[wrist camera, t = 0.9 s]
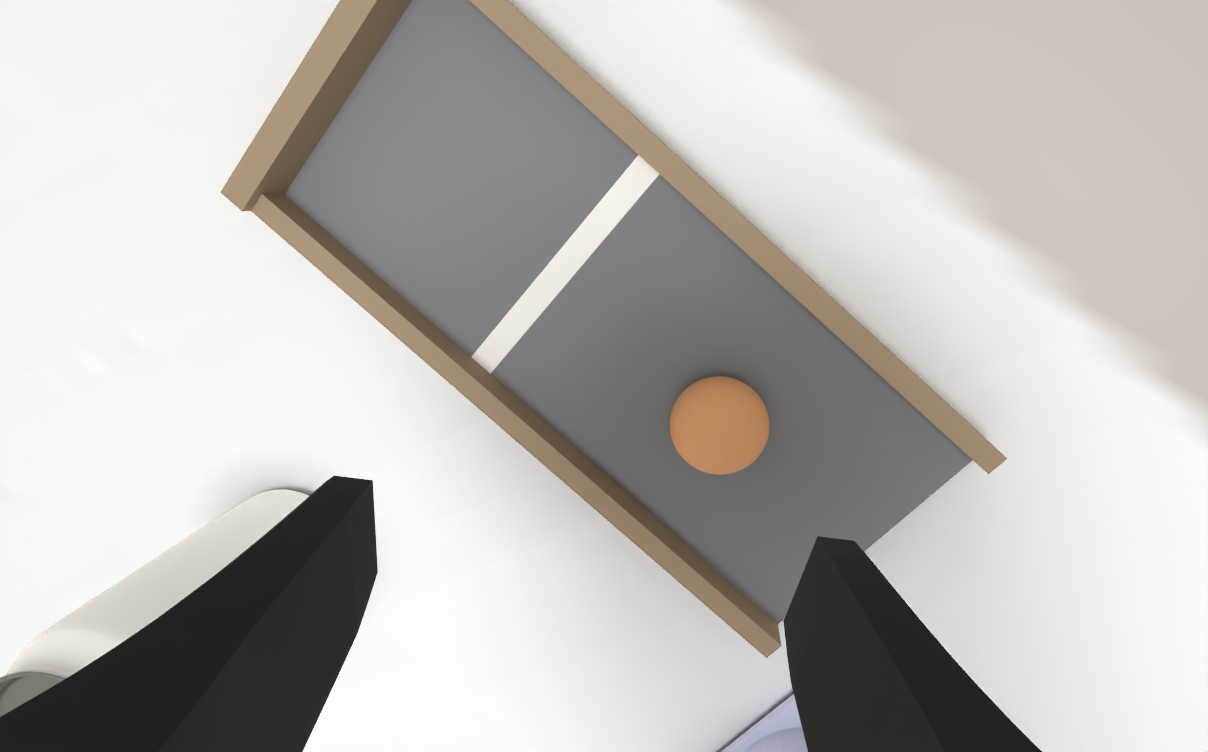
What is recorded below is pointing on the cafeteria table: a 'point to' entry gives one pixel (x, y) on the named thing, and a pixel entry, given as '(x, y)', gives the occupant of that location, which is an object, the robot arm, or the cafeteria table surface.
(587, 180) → the lane
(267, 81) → the cafeteria table surface
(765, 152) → the cafeteria table surface
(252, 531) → the can
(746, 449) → the ball
